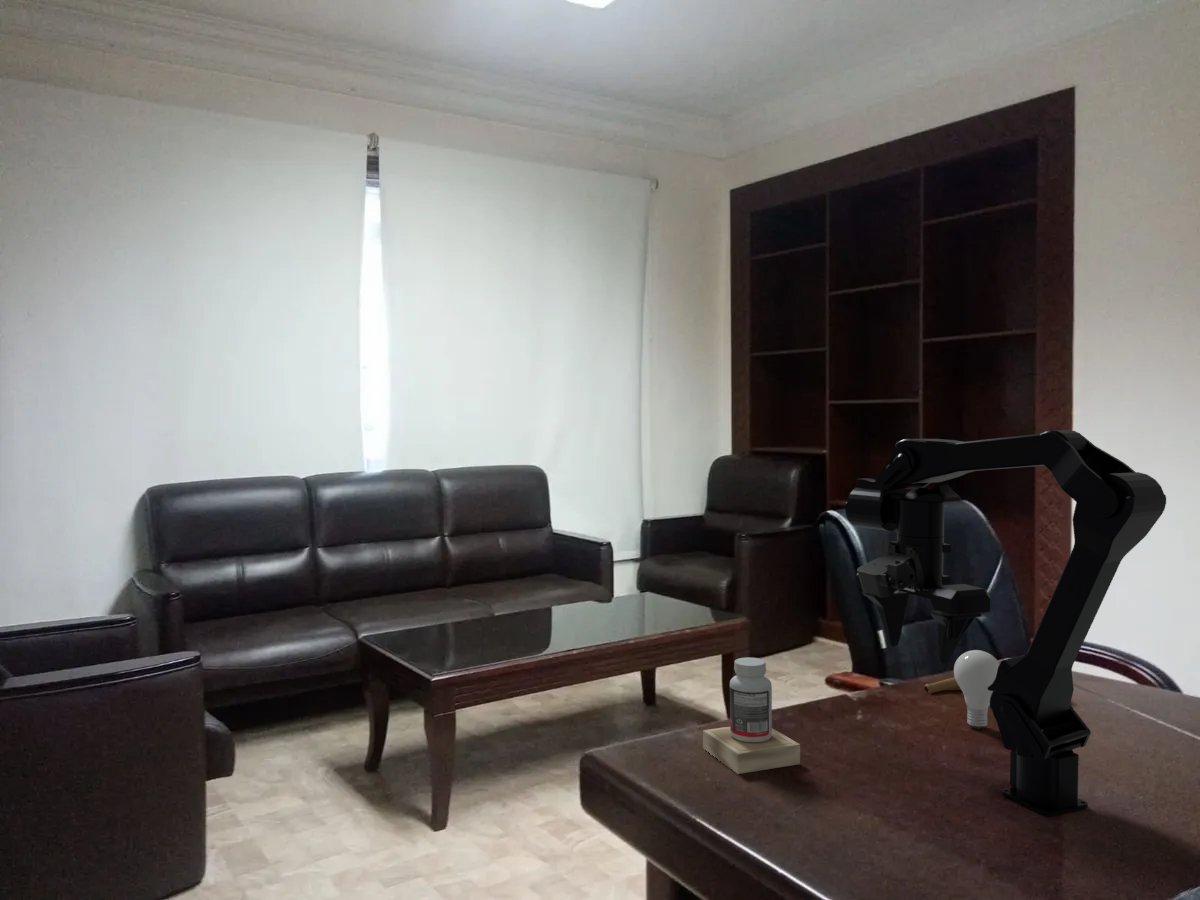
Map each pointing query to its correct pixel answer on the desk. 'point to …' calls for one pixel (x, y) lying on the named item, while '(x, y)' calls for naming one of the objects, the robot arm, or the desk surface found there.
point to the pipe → (941, 685)
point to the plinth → (751, 751)
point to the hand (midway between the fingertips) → (917, 654)
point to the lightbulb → (976, 683)
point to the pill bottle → (750, 701)
